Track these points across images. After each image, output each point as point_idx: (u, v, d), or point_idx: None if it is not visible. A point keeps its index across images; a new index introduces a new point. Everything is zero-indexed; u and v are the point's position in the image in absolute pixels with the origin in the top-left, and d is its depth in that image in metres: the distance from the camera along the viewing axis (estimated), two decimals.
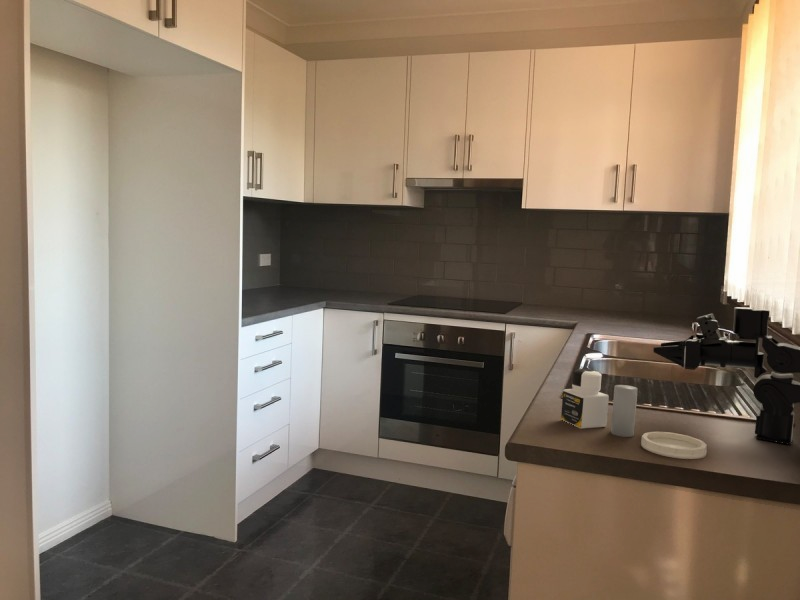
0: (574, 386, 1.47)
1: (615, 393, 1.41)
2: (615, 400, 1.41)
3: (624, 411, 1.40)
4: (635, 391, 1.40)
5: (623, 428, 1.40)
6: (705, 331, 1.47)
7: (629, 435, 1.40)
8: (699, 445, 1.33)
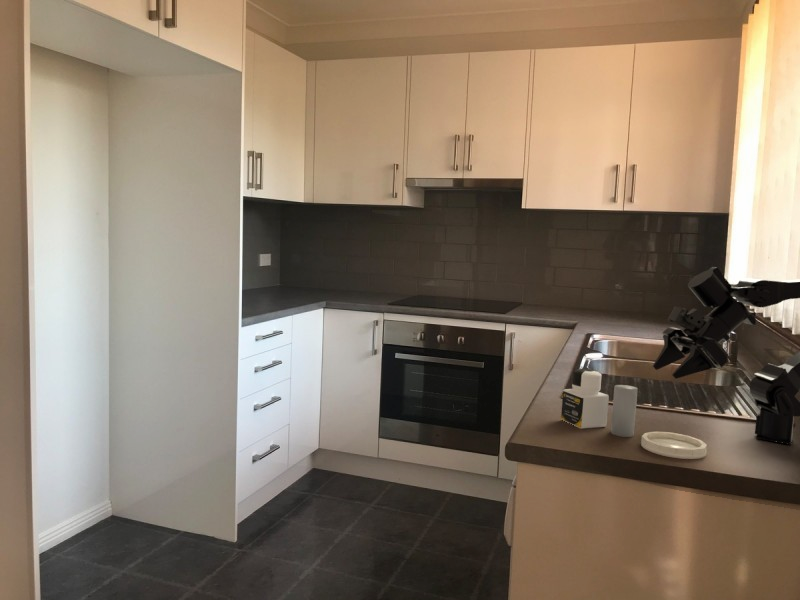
0: (574, 386, 1.47)
1: (615, 393, 1.41)
2: (615, 400, 1.41)
3: (624, 411, 1.40)
4: (635, 391, 1.40)
5: (623, 428, 1.40)
6: (696, 324, 1.37)
7: (629, 435, 1.40)
8: (699, 445, 1.33)
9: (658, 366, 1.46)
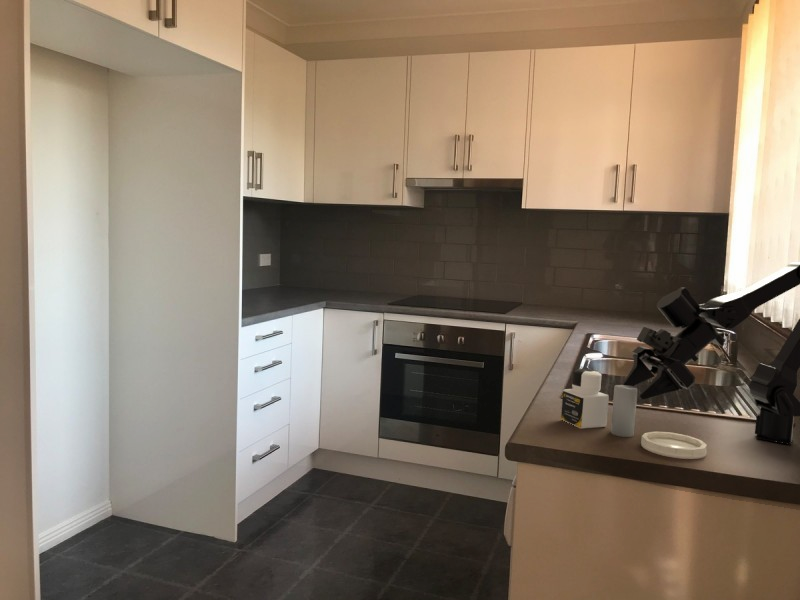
0: (574, 386, 1.47)
1: (615, 393, 1.41)
2: (615, 400, 1.41)
3: (624, 411, 1.40)
4: (635, 391, 1.40)
5: (623, 428, 1.40)
6: (664, 345, 1.37)
7: (629, 435, 1.40)
8: (699, 445, 1.33)
9: None
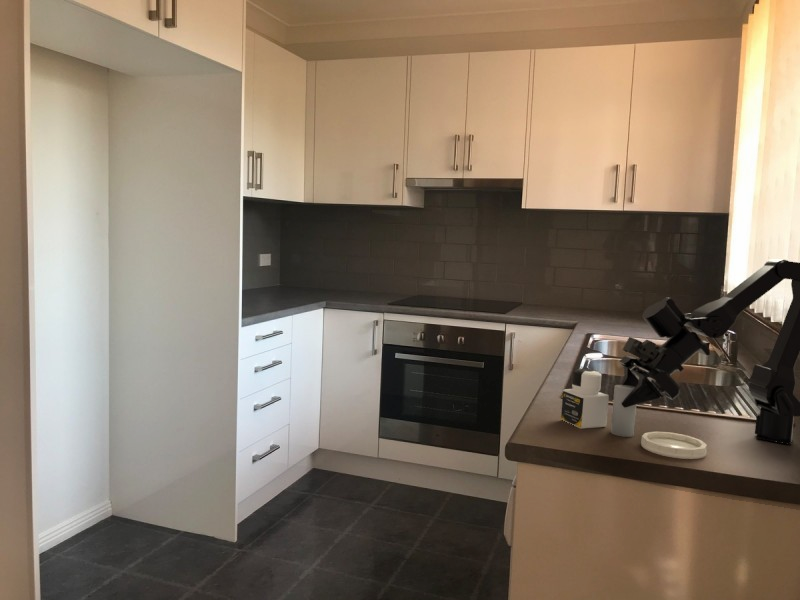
0: (574, 386, 1.47)
1: (615, 393, 1.41)
2: (615, 400, 1.41)
3: (624, 410, 1.40)
4: None
5: (623, 428, 1.40)
6: (649, 356, 1.37)
7: (629, 435, 1.40)
8: (699, 445, 1.33)
9: None
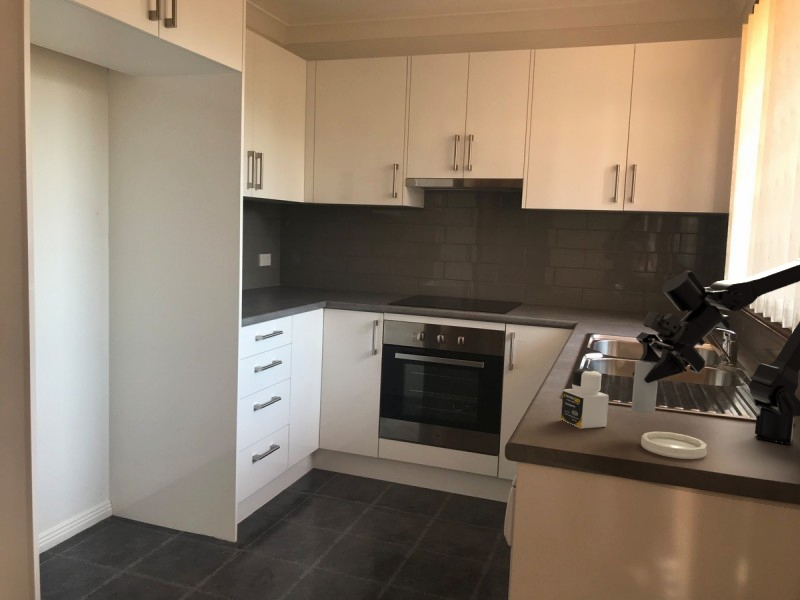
0: (574, 386, 1.47)
1: (636, 369, 1.39)
2: (637, 376, 1.38)
3: (647, 386, 1.37)
4: None
5: (645, 404, 1.37)
6: (672, 330, 1.34)
7: (651, 411, 1.38)
8: (699, 445, 1.33)
9: None
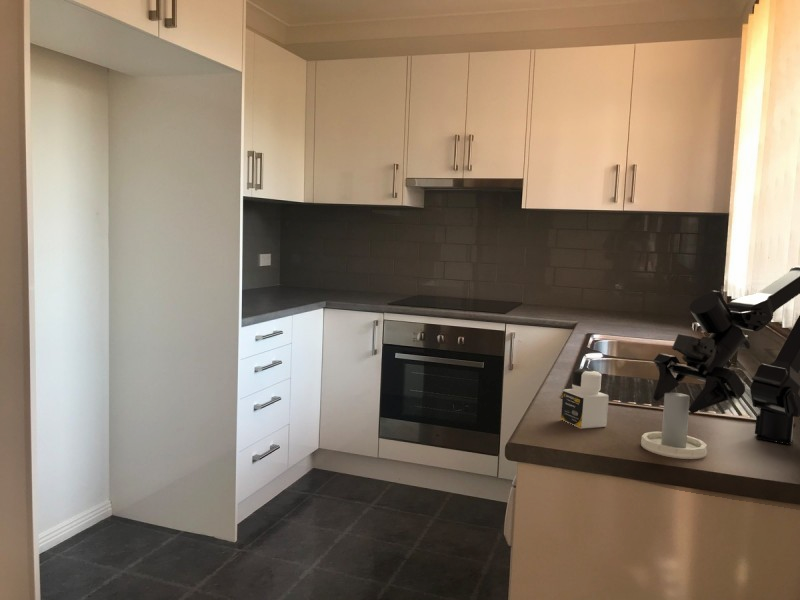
0: (574, 386, 1.47)
1: (668, 402, 1.31)
2: (669, 410, 1.31)
3: (681, 420, 1.30)
4: (689, 398, 1.31)
5: (679, 439, 1.30)
6: (709, 354, 1.28)
7: (685, 446, 1.31)
8: (699, 445, 1.33)
9: (658, 397, 1.36)
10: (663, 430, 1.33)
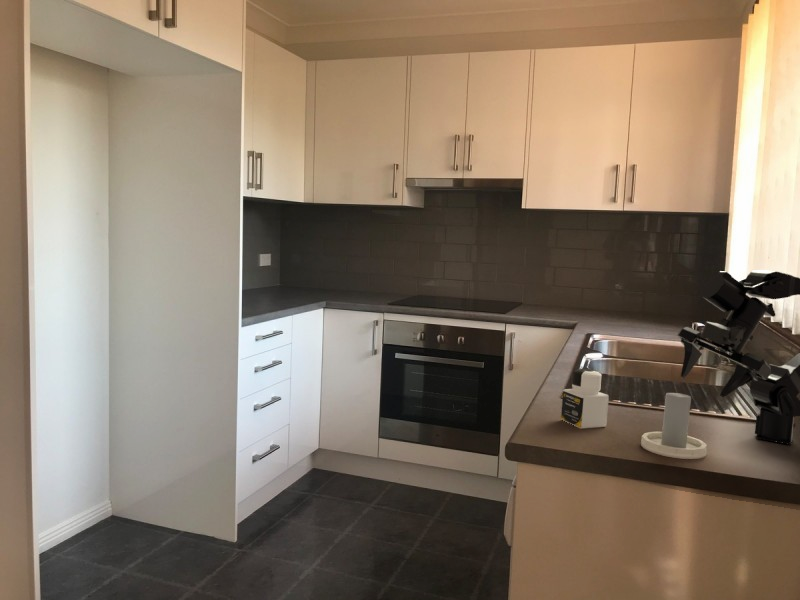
0: (574, 386, 1.47)
1: (669, 403, 1.31)
2: (670, 410, 1.31)
3: (681, 421, 1.30)
4: (690, 399, 1.31)
5: (679, 439, 1.30)
6: (738, 343, 1.34)
7: (685, 446, 1.31)
8: (699, 445, 1.33)
9: (685, 374, 1.44)
10: (663, 430, 1.33)
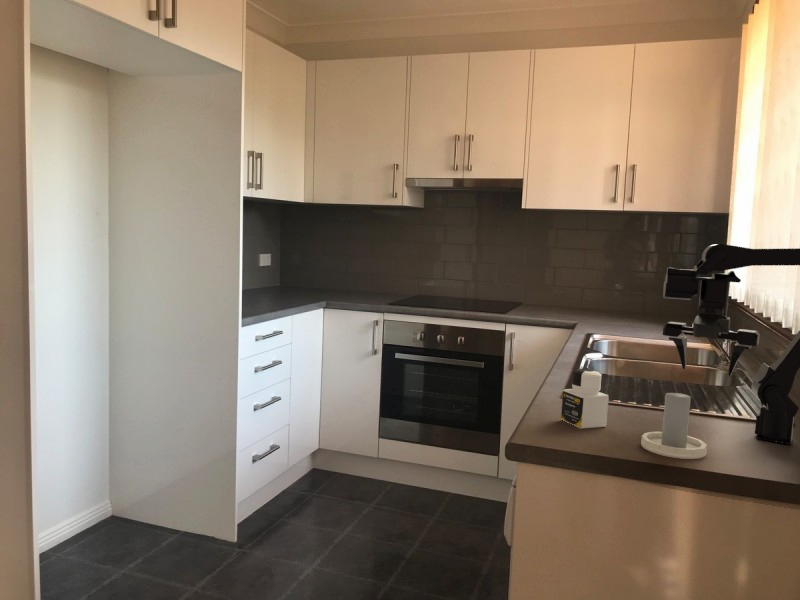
0: (574, 386, 1.47)
1: (669, 403, 1.31)
2: (670, 410, 1.31)
3: (681, 421, 1.30)
4: (690, 399, 1.31)
5: (679, 439, 1.30)
6: (729, 329, 1.40)
7: (685, 446, 1.31)
8: (699, 445, 1.33)
9: (685, 365, 1.50)
10: (663, 430, 1.33)
